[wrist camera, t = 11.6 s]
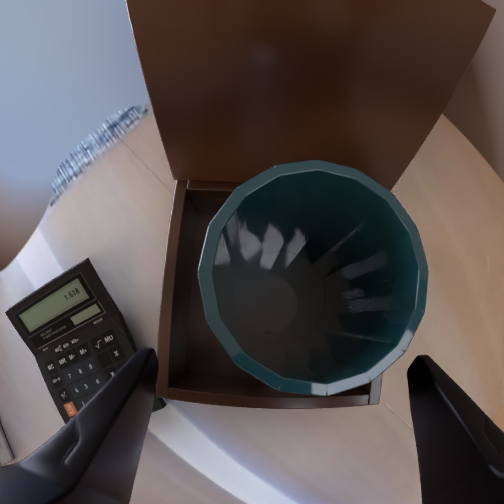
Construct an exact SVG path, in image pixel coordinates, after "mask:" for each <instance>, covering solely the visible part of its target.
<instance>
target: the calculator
mask: <svg viewBox="0 0 504 504" xmlns="http://www.w3.org/2000/svg"><path fill="white" fill-rule="evenodd" d="M5 313H6V315H7V316H8V318H9V320H10V321H11V323H12V324H13V326H14V327H15V329H16V330H17V332H18V333H19V335H20V336H21V338H22V339H23V341H24V342H25V344H26V345H27V346H28V348H29V349H30V350H31V352H32V353H33V355H34V356H35V358H36V361H37V363H38V366H39V369H40V371H41V374H42V376H43V378H44V381H45V383H46V385H47V388H48V390H49V392H50V394H51V396H52V398H53V401H54V403H55V405H56V407H57V409H58V411H59V413H60V415H61V417H62V419H63V420H64V422H65V424H67V423H68V422H69V421H70V419H71V418H72V417H73V416H75V415H76V413H77V412H78V411H79V410H80V409H81V408H82V407H83V406H84V405H85V404H86V403H87V402H88V401H89V400H90V399H91V398H92V397H93V396H94V395H95V394H96V393H97V392H98V391H99V390H100V389H101V388H102V387H103V386H104V385H105V384H106V383H107V382H108V381H109V380H110V378H111V377H112V376H113V375H114V374H115V373H116V372H117V371H118V370H119V369H120V368H121V367H122V366H123V365H124V364H125V363H126V362H127V361H128V360H129V359H130V358H131V357H132V356H133V355H134V354H135V353H136V352H137V351H138V350H137V348H136V345H135V343H134V341H133V339H132V337H131V335H130V332H129V330H128V328H127V326H126V323H125V321H124V319H123V316H122V314H121V312H120V311H119V309H118V308H117V306H116V305H115V303H114V301H113V300H112V298H111V297H110V295H109V293H108V292H107V290H106V288H105V287H104V285H103V283H102V281H101V280H100V278H99V276H98V275H97V273H96V271H95V269H94V267H93V266H92V264H91V262H90V260H89V258H87V259H85V260H84V261H82V262H80V263H79V264H77V265H75V266H74V267H72V268H70V269H69V270H67V271H66V272H64V273H62V274H61V275H59V276H58V277H56V278H54V279H53V280H51V281H50V282H48V283H47V284H45V285H43V286H42V287H40V288H39V289H37V290H36V291H34V292H33V293H31V294H30V295H28V296H27V297H25V298H24V299H22V300H21V301H19V302H18V303H16V304H15V305H14V306H12V307H11V308H9V309H8V310H7V311H6V312H5ZM165 406H166V403H165V402H164V400H163V398H160V397H156V389H155V396H154V402H153V408H152V412H155V411H157V410H160V409H162V408H164V407H165Z"/></svg>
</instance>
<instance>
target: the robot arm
mask: <svg viewBox="0 0 504 504" xmlns="http://www.w3.org/2000/svg"><path fill="white" fill-rule="evenodd" d="M158 370H159V363H158V359H157V356H156V352H155V350H154V349H153V348H149V347H141V348H140V349H139V350H138V351H137V352H136V353H135V354H134V355H133V356H132V357H131V358H130V359H129V360H128V361H127V362H126V363H125V364H124V365H123V366H122V367H121V368H120V369H119V370H118V371H117V372H116V373H115V374H114V375H113V376H112V377H111V378H110V380H109V381H108V382H107V383H106V384H105V385H104V386H103V387H102V388H101V389H100V390H99V391H98V392H97V393H96V394H95V395H94V396H93V397H92V398H91V399H90V400H89V401H88V402H87V403H86V404H85V405H84V406H83V407H82V408H81V409H80V410H79V411H78V412H77V413H76V415H75V416H73V417H72V418H71V419H70V421H69V422H68V423H67V424H66V425H65V426H63V427H62V428H61V429H60V430H59V431H58V432H57V433H56V434H55V435H54V436H53V437H51V438H50V439H49V440H48V441H47V442H45V443H44V444H43V445H42V446H40V447H39V448H38V449H37V450H35V451H34V452H33V453H32V454H30V455H29V456H28V457H26V458H25V459H24V460H22V461H20V462H18V463H15V464H12V465H7V466H2V467H0V504H129V502H130V498H131V493H132V489H133V484H134V480H135V476H136V471H137V467H138V463H139V459H140V455H141V451H142V447H143V443H144V439H145V435H146V431H147V428H148V424H149V420H150V416H151V413H152V408H153V402H154V396H155V389H156V383H157V376H158ZM407 379H408V388H409V399H410V409H411V416H412V422H413V427H414V434H415V440H416V447H417V454H418V462H419V471H420V481H421V494H422V504H504V432H503V431H502V430H501V429H499V428H498V427H497V426H496V425H495V424H494V423H493V421H492V420H491V419H490V418H489V417H488V416H487V415H486V414H485V413H484V412H483V411H482V410H481V409H480V408H479V407H478V406H477V404H476V403H475V402H474V401H473V400H472V399H471V398H470V397H469V396H468V395H467V394H466V393H465V392H464V391H463V390H462V389H461V388H460V387H459V386H458V385H457V384H456V383H455V382H454V381H453V380H452V379H451V378H450V377H449V376H448V375H447V374H446V373H445V372H444V371H443V370H442V369H441V368H440V367H439V366H438V365H437V364H436V363H435V362H434V361H433V360H432V359H431V358H430V357H429V356H428V355H418V356H417V357H416V358H415V359H414V361H413V362H412V364H411V365H410V367H409V368H408V371H407Z"/></svg>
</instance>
